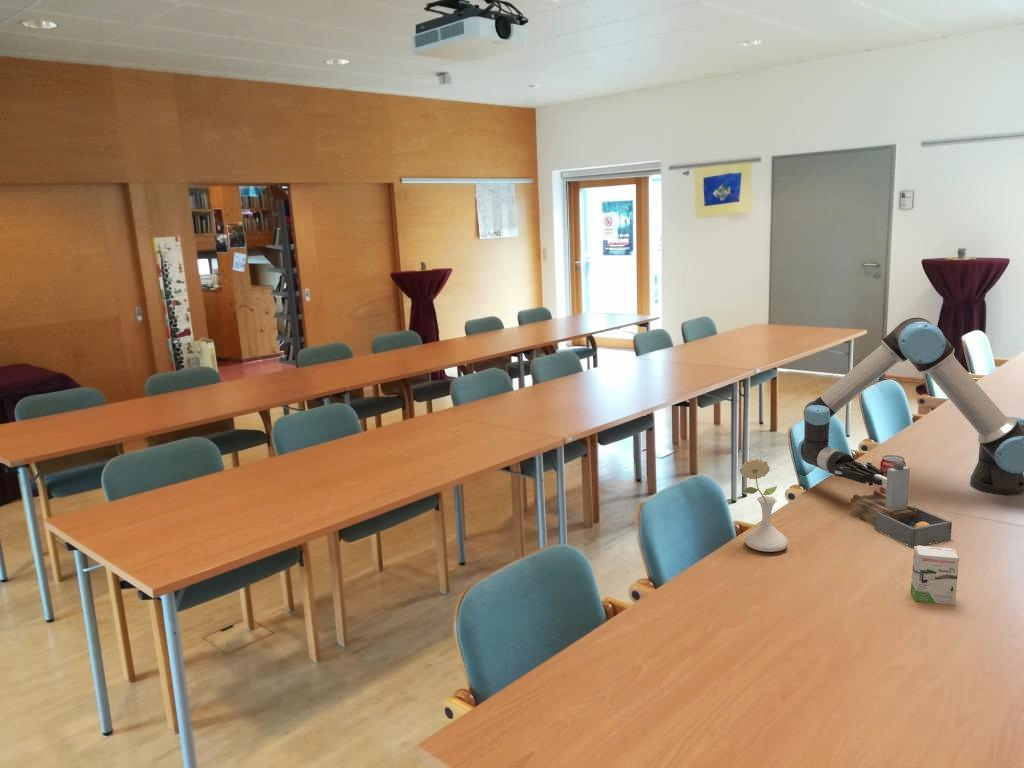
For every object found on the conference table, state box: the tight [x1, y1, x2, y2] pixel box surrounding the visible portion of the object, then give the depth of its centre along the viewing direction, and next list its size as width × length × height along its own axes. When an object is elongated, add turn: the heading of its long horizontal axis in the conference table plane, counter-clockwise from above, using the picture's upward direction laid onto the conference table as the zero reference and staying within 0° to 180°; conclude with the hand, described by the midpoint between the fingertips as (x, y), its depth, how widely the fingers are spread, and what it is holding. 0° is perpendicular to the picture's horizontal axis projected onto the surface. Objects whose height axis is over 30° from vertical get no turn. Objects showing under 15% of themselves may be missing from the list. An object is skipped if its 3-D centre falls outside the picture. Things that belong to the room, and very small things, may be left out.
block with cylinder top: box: [885, 461, 911, 511], centre depth 214 cm, size 2×6×14 cm, turn 106°
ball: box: [914, 522, 930, 528], centre depth 206 cm, size 4×4×4 cm
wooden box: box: [849, 490, 918, 527], centre depth 220 cm, size 15×10×6 cm, turn 16°
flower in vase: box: [738, 458, 789, 553], centre depth 205 cm, size 13×11×25 cm
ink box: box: [910, 545, 960, 606], centre depth 175 cm, size 9×5×12 cm, turn 72°
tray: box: [874, 504, 953, 548], centre depth 210 cm, size 14×13×5 cm
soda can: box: [878, 454, 907, 495], centre depth 237 cm, size 7×7×13 cm
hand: (892, 485), depth 215 cm, fingers closed
